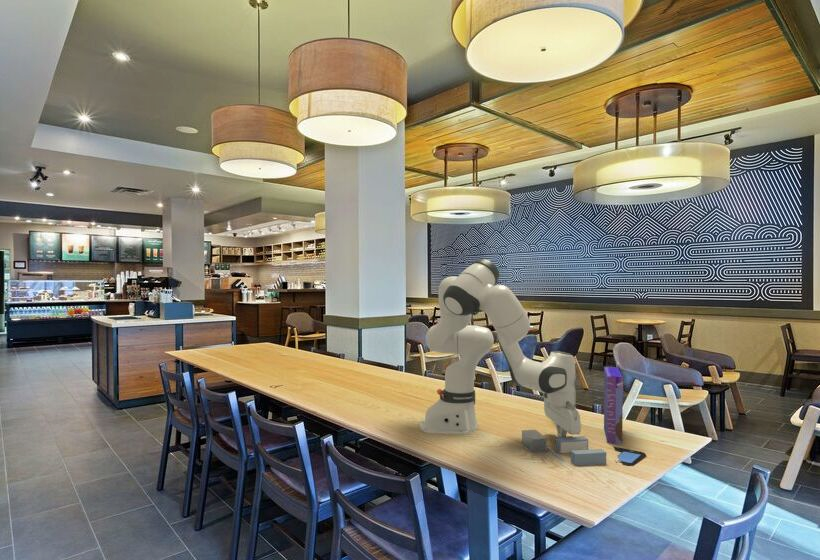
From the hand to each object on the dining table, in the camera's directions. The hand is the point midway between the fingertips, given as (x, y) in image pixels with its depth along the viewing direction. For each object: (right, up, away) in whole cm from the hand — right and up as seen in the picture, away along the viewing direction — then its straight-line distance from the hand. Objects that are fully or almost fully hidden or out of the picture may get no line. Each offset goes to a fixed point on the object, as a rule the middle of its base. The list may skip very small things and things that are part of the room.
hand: (561, 438), depth 153 cm
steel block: (-11, -3, -5) cm, 13 cm away
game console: (+15, -4, -11) cm, 19 cm away
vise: (0, -3, -12) cm, 12 cm away
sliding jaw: (+1, -3, -5) cm, 6 cm away
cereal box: (+21, -3, +8) cm, 23 cm away
